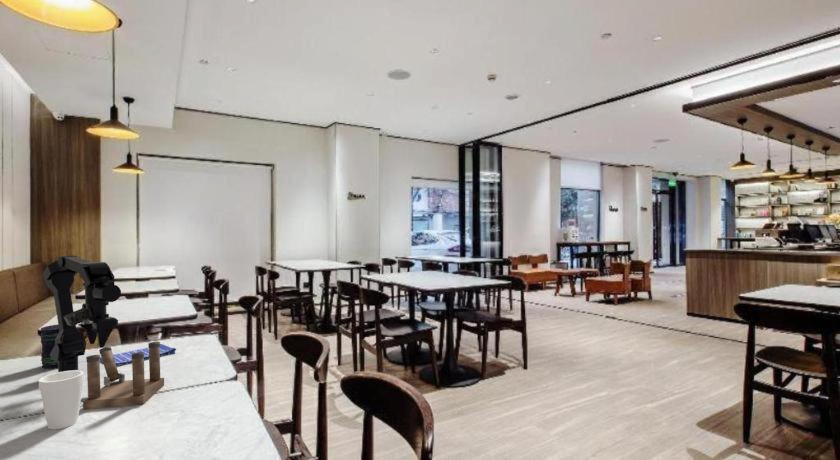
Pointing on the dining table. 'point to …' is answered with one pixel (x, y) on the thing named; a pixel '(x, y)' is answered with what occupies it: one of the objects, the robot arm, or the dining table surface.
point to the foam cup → (61, 397)
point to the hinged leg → (109, 363)
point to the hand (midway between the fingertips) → (96, 345)
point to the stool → (124, 382)
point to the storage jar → (48, 346)
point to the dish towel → (127, 356)
